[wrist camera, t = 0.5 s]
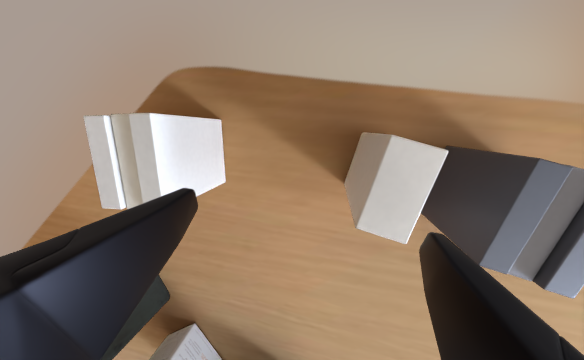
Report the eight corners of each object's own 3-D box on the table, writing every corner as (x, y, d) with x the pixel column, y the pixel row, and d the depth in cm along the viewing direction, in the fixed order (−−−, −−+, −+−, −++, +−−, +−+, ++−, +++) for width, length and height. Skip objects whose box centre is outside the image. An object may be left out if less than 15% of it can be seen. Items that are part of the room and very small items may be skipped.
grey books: (469, 226, 22) (574, 299, 13) (416, 210, 23) (479, 268, 13) (504, 160, 21) (657, 187, 11) (446, 144, 21) (544, 156, 12)
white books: (226, 182, 26) (164, 213, 16) (184, 180, 27) (102, 209, 17) (221, 119, 24) (149, 112, 15) (177, 120, 25) (82, 114, 15)
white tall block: (371, 192, 23) (406, 245, 13) (343, 184, 24) (354, 228, 13) (391, 140, 22) (450, 150, 11) (361, 132, 22) (391, 134, 12)
